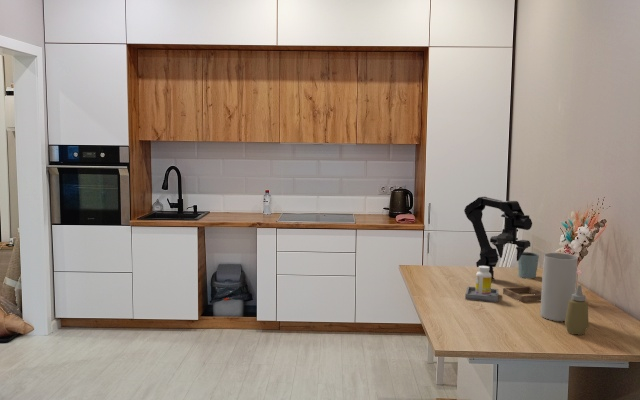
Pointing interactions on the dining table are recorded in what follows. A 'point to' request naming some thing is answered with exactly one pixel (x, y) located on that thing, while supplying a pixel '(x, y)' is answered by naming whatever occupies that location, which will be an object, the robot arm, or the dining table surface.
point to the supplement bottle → (483, 281)
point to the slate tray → (472, 295)
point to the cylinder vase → (557, 285)
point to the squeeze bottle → (577, 313)
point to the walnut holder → (513, 291)
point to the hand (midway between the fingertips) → (509, 259)
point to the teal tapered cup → (528, 265)
